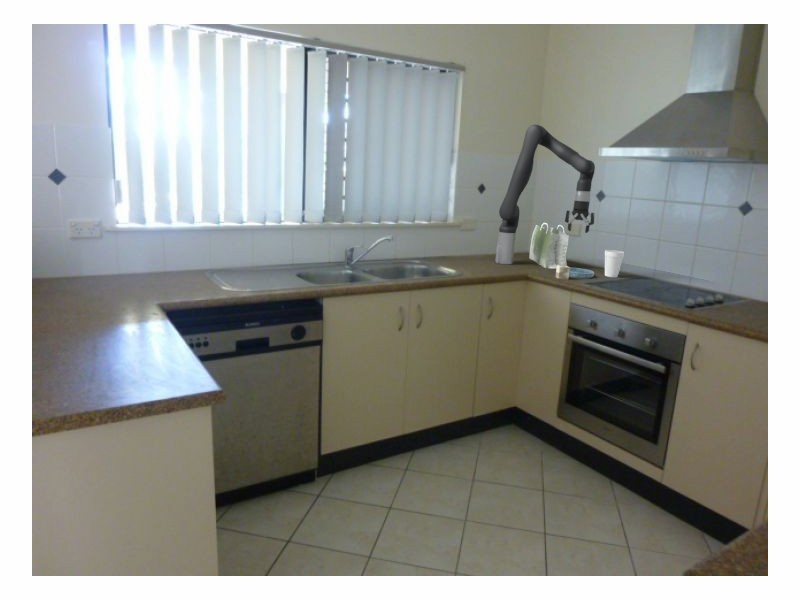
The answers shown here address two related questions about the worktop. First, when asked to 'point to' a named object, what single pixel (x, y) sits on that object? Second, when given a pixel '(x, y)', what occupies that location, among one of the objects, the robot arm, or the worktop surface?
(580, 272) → the dish
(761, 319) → the worktop surface
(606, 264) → the foam cup
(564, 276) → the ash block
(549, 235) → the grocery bag
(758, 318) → the worktop surface
